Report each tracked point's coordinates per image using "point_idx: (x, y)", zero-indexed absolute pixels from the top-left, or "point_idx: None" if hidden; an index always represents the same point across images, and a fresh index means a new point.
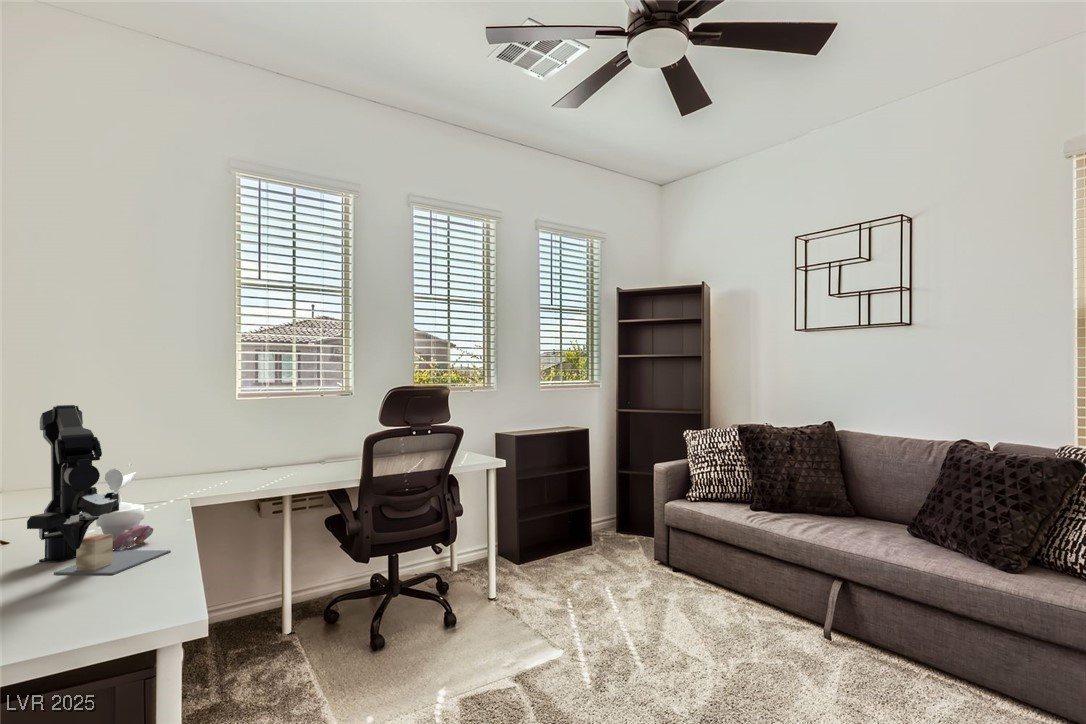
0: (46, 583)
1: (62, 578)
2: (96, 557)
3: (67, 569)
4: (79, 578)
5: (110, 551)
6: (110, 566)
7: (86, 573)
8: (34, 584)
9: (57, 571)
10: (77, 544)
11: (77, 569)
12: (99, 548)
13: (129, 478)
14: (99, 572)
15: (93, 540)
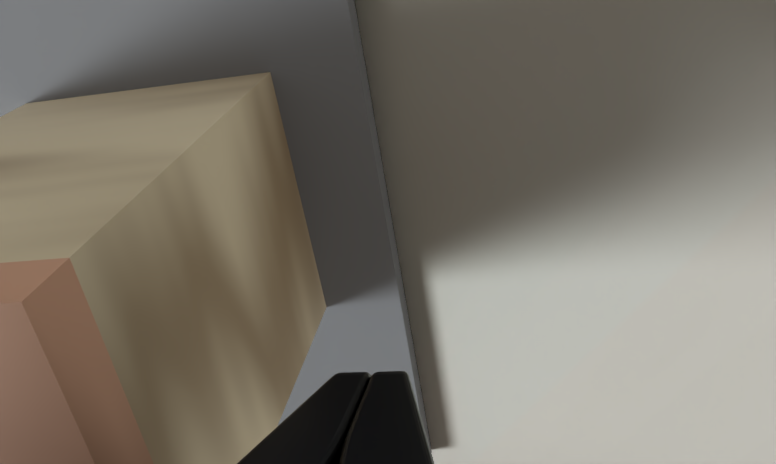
0: (705, 266)
1: (527, 251)
2: (180, 131)
3: None
4: (503, 28)
5: None
6: (98, 11)
7: (365, 91)
8: (737, 363)
9: None
10: (372, 426)
11: (320, 299)
12: (54, 194)
13: None
14: None
15: (50, 327)
